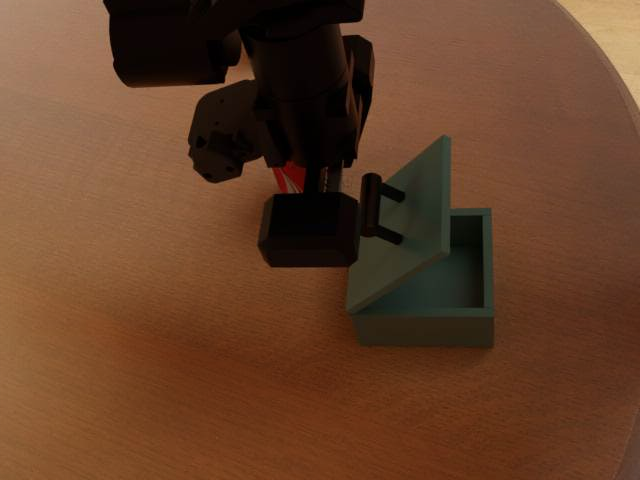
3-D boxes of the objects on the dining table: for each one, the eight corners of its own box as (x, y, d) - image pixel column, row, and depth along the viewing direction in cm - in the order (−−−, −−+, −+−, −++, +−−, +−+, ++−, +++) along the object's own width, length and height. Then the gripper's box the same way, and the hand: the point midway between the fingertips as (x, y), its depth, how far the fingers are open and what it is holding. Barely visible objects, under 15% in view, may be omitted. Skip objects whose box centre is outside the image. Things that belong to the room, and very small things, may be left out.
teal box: (491, 243, 70) (491, 207, 65) (493, 347, 64) (494, 316, 59) (367, 244, 72) (359, 210, 67) (359, 345, 66) (349, 315, 62)
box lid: (451, 137, 58) (403, 112, 56) (450, 254, 52) (396, 231, 50) (362, 209, 67) (318, 189, 65) (353, 314, 61) (304, 296, 60)
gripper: (203, -22, 52) (258, 126, 65) (143, 193, 42) (221, 319, 55) (361, -36, 50) (385, 121, 63) (336, 188, 40) (371, 320, 53)
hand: (340, 213), depth 58 cm, fingers open, 9 cm apart
